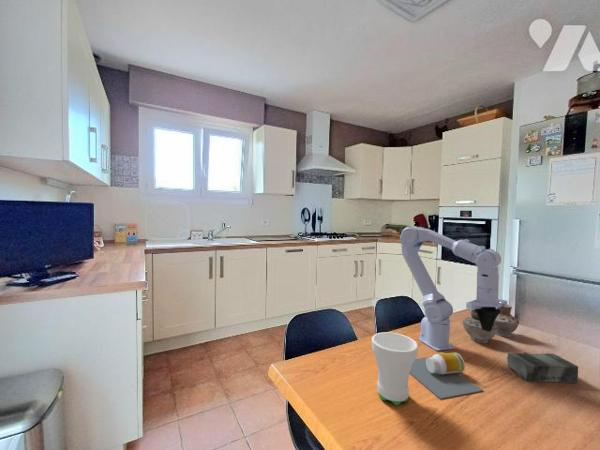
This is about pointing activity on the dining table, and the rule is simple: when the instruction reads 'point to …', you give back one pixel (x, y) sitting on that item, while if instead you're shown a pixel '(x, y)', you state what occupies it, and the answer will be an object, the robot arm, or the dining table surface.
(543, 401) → the dining table surface
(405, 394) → the cup
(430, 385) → the mat
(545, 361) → the stone block
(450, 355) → the supplement bottle
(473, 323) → the pottery
